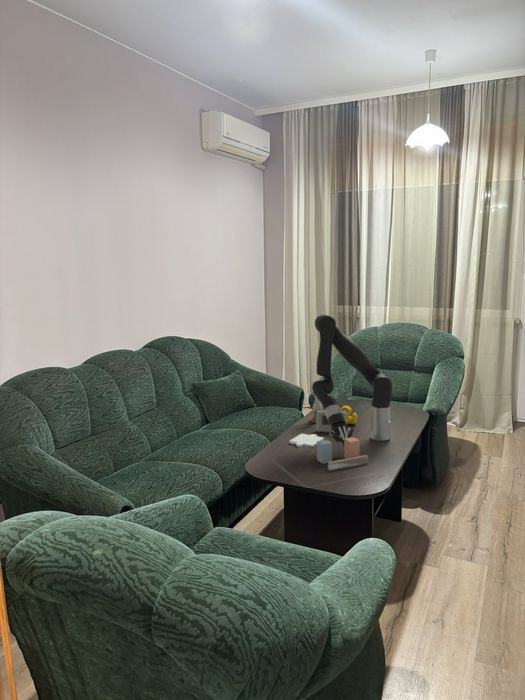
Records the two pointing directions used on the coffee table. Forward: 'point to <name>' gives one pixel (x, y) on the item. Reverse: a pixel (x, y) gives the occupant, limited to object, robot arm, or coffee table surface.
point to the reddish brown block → (351, 447)
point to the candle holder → (316, 409)
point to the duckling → (348, 410)
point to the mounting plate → (306, 440)
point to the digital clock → (325, 421)
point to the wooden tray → (347, 462)
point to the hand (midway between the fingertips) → (348, 448)
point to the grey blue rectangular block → (324, 451)
